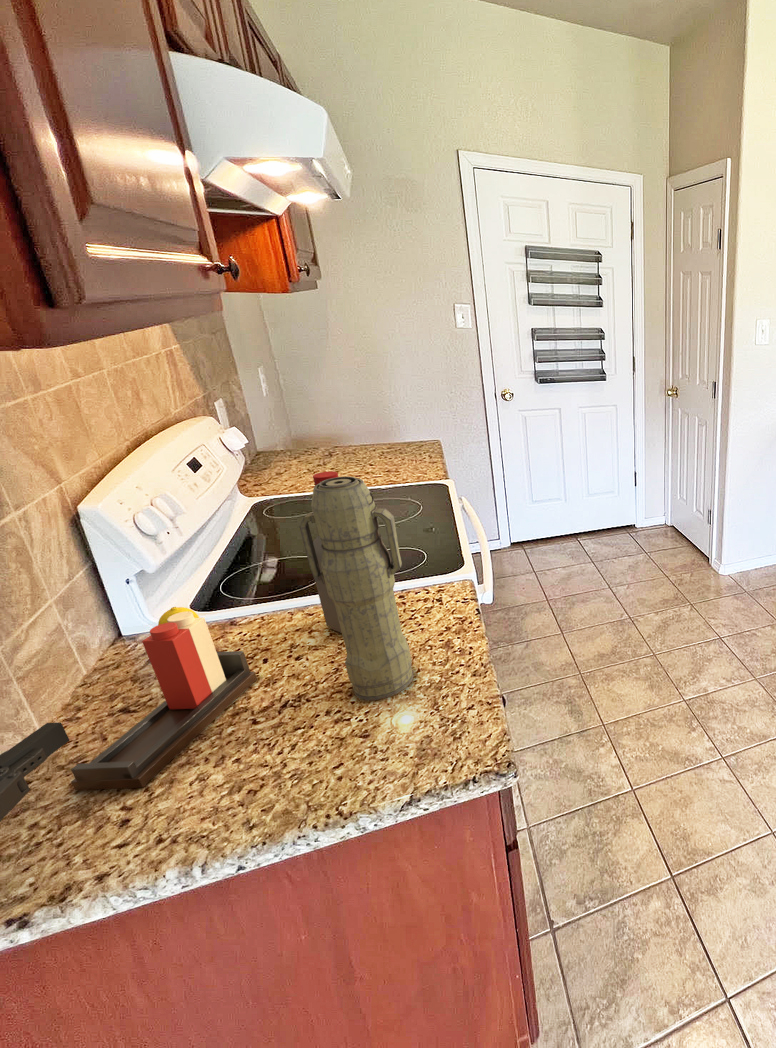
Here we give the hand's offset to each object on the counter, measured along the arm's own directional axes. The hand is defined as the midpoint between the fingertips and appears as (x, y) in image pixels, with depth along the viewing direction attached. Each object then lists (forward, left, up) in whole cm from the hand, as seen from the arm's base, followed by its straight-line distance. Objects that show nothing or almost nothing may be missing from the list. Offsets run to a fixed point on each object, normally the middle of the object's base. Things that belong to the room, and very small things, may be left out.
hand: (58, 731), depth 67 cm
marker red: (0, +16, -9) cm, 19 cm away
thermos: (+25, +22, -11) cm, 35 cm away
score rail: (0, +13, -11) cm, 17 cm away
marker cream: (0, +19, -9) cm, 22 cm away
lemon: (-14, +34, -11) cm, 38 cm away
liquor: (+12, +41, -11) cm, 44 cm away
